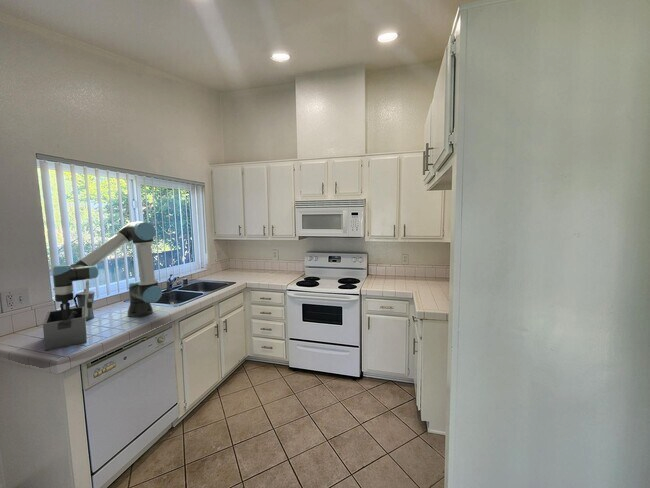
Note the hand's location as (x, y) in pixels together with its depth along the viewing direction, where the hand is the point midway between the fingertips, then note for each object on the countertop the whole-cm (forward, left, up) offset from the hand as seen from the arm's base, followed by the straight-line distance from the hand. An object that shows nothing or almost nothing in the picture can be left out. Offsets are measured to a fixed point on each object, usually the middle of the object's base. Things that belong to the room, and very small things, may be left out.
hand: (67, 332), depth 165 cm
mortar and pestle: (0, 0, -1) cm, 1 cm away
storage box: (0, +2, -4) cm, 4 cm away
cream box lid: (-9, +4, +19) cm, 21 cm away
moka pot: (-8, -36, -4) cm, 37 cm away
